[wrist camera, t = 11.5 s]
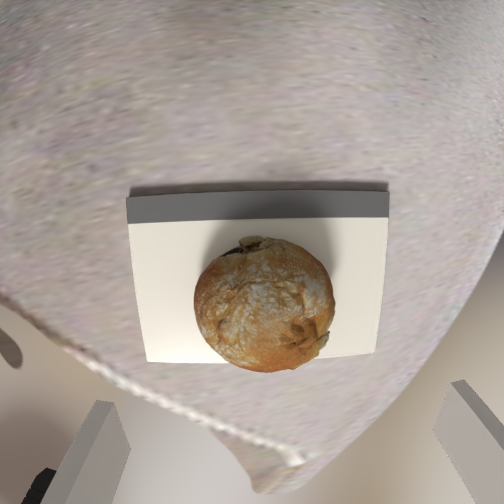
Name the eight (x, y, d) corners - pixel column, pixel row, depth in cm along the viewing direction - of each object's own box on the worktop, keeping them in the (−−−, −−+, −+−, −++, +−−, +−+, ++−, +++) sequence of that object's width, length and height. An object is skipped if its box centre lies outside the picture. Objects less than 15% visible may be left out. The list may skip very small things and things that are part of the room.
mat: (385, 191, 24) (389, 191, 23) (372, 349, 27) (374, 353, 26) (128, 197, 23) (125, 197, 23) (149, 358, 27) (147, 362, 26)
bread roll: (295, 223, 27) (287, 193, 20) (356, 330, 25) (373, 343, 17) (196, 281, 28) (153, 273, 21) (251, 385, 26) (226, 416, 18)
